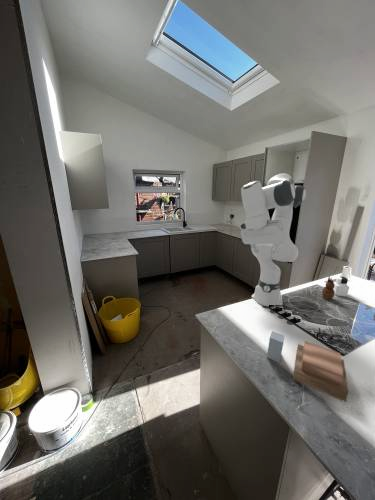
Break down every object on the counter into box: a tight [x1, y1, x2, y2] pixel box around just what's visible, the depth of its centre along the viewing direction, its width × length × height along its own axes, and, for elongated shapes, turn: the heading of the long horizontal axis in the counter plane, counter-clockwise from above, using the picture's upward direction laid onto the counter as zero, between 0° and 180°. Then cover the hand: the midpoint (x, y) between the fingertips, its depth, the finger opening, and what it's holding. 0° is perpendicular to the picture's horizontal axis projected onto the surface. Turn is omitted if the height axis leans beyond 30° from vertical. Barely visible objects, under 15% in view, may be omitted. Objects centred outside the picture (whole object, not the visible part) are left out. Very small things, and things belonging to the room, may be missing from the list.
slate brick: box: [266, 330, 285, 363], centre depth 86 cm, size 5×5×10 cm
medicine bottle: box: [333, 275, 350, 297], centre depth 138 cm, size 7×7×12 cm
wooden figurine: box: [321, 276, 335, 301], centre depth 132 cm, size 7×6×15 cm
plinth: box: [292, 340, 349, 402], centre depth 78 cm, size 16×16×8 cm
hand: (266, 253), depth 87 cm, fingers open, 8 cm apart
